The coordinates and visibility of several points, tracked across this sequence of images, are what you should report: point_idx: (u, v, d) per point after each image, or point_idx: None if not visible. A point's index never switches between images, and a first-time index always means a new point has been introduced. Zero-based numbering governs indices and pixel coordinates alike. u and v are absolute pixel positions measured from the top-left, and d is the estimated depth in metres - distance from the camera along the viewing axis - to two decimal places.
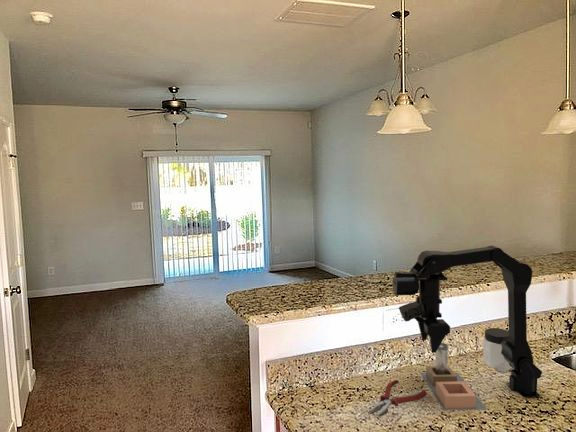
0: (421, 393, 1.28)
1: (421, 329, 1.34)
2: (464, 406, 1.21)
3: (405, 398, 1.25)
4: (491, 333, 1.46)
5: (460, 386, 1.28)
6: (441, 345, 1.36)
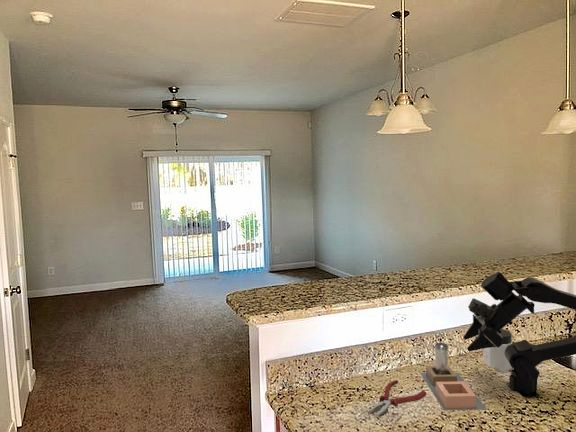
0: (421, 393, 1.28)
1: (470, 329, 1.38)
2: (464, 406, 1.21)
3: (405, 398, 1.25)
4: None
5: (460, 386, 1.28)
6: (441, 345, 1.36)
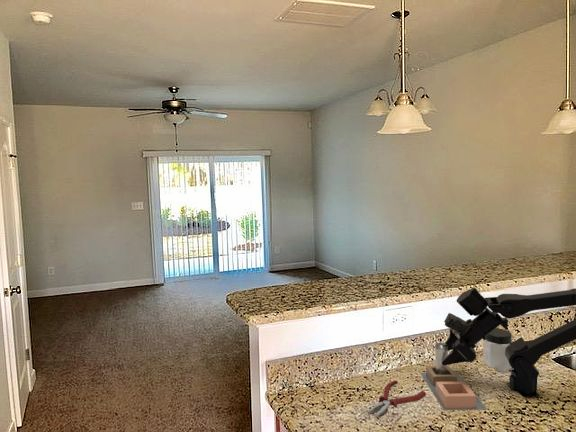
0: (420, 394, 1.28)
1: (446, 343, 1.40)
2: (464, 406, 1.21)
3: (404, 399, 1.25)
4: (491, 333, 1.46)
5: (460, 386, 1.28)
6: (441, 345, 1.36)
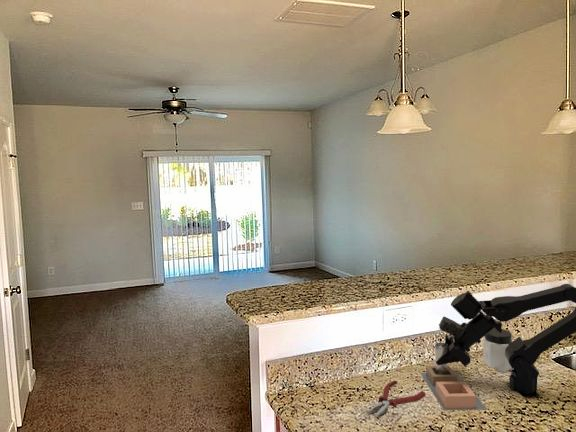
0: (420, 394, 1.27)
1: None
2: (464, 406, 1.21)
3: (403, 399, 1.25)
4: (491, 333, 1.46)
5: (460, 386, 1.28)
6: (441, 345, 1.36)
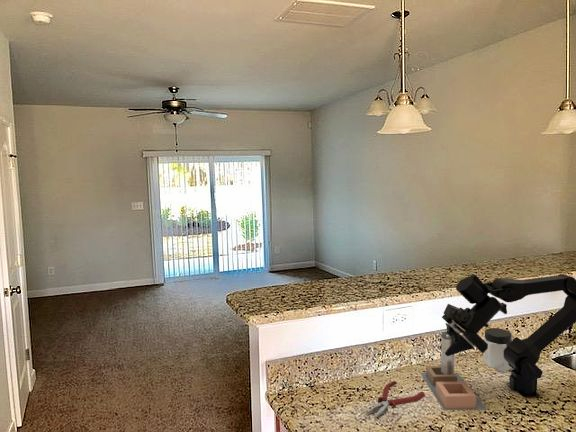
0: (419, 394, 1.27)
1: None
2: (464, 406, 1.21)
3: (403, 400, 1.25)
4: (491, 333, 1.46)
5: (460, 386, 1.28)
6: (448, 334, 1.27)
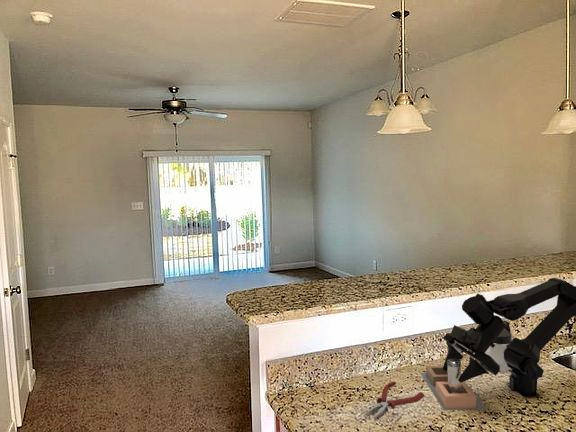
0: (418, 395, 1.27)
1: None
2: (464, 406, 1.21)
3: (402, 400, 1.24)
4: None
5: None
6: (455, 362, 1.24)
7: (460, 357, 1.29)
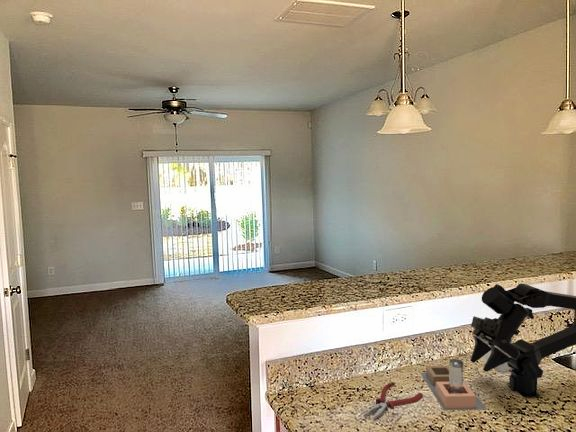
0: (417, 396, 1.26)
1: (475, 351, 1.32)
2: (464, 406, 1.21)
3: (401, 401, 1.24)
4: None
5: None
6: (457, 362, 1.24)
7: (488, 349, 1.33)
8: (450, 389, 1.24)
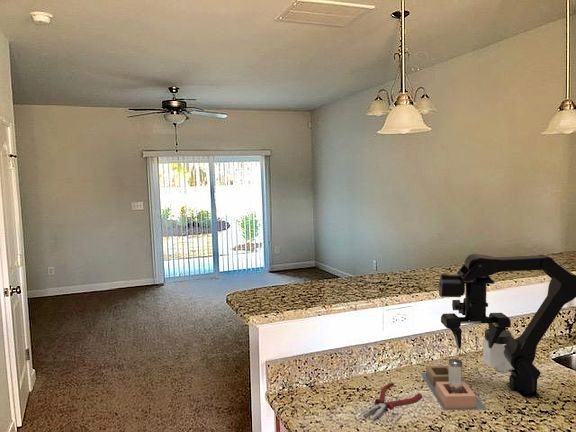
0: (416, 396, 1.26)
1: (489, 336, 1.32)
2: (464, 406, 1.21)
3: (400, 401, 1.24)
4: None
5: None
6: (456, 362, 1.24)
7: (495, 330, 1.29)
8: (450, 389, 1.24)
